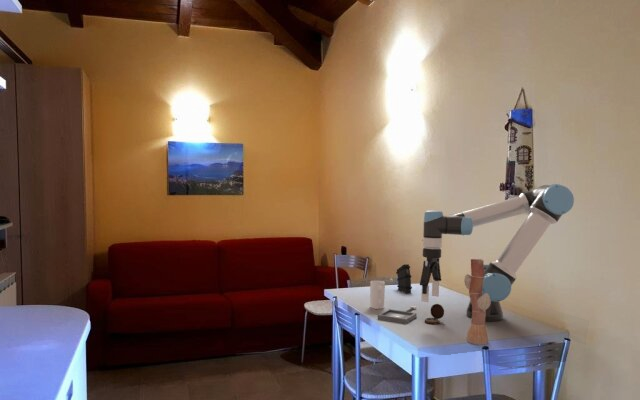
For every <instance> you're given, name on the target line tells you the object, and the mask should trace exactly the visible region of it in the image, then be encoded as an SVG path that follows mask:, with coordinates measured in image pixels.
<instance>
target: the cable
mask: <svg viewBox="0 0 640 400" xmlns="http://www.w3.org/2000/svg"><path fill="white" fill-rule="evenodd" d="M409 307H410V308H409V309H407V310H405V311H406V312H411V311H412V310H413V311H416V310H417V306H416V305H410V306H409Z"/></svg>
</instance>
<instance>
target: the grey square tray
mask: <svg viewBox="0 0 640 400" xmlns="http://www.w3.org/2000/svg"><path fill="white" fill-rule="evenodd" d="M406 311H407V310H397V309H391V308H389V309H387V310H385V311H383V312H381V313H379V314H377V320H381V321H385V322H387V321H388V322H393V323H398V322H399V323H400V324H405V325H406V324H408V323H410V322H411V321H413V320H414V319H416V318H417V314H418V313H417V312H411V311H409V312H406ZM399 323H398V324H399Z"/></svg>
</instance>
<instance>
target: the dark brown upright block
mask: <svg viewBox="0 0 640 400" xmlns="http://www.w3.org/2000/svg"><path fill="white" fill-rule="evenodd" d="M410 269H411V266H410V265H409V264H402V265H401V266H400V267H398V268H397V269H396V272H395V274H396V276H397V279H396V281H397V285H396V286H397V290H398V291H400V292H402V291H403V293H404V292H405V293H404V294H411V293H412V289H413V286H412V279H411V278H412V275H411V271H410Z"/></svg>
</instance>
